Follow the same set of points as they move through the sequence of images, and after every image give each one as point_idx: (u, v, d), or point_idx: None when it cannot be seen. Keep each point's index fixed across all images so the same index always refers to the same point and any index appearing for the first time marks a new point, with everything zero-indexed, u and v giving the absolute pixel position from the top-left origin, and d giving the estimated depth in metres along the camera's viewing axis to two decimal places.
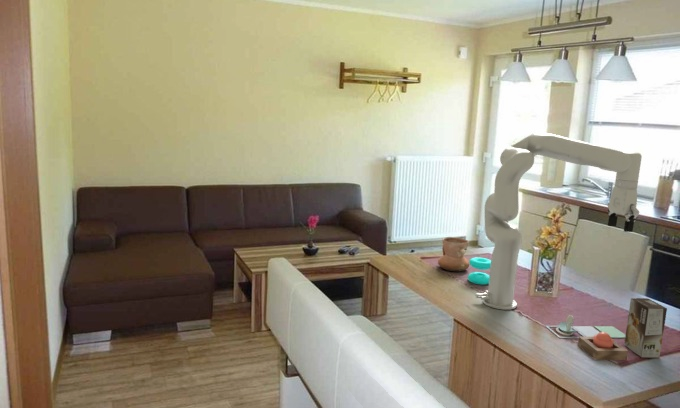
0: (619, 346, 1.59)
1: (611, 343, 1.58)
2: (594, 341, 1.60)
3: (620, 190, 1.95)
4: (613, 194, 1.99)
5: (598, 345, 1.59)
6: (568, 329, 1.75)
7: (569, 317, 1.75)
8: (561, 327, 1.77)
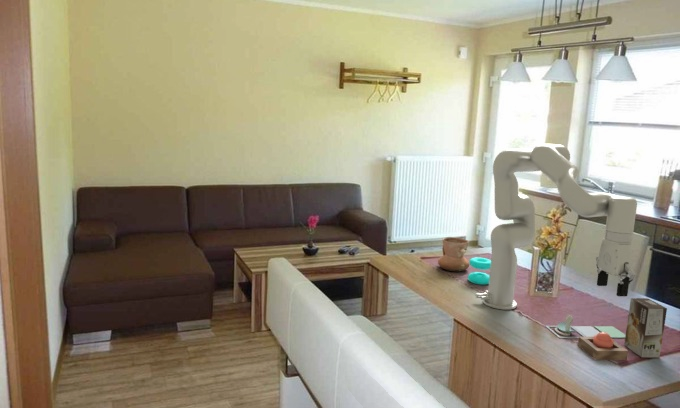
0: (619, 346, 1.59)
1: (611, 343, 1.58)
2: (594, 341, 1.60)
3: (611, 244, 1.56)
4: (603, 248, 1.61)
5: (598, 345, 1.59)
6: (567, 329, 1.75)
7: (568, 317, 1.75)
8: (560, 327, 1.77)
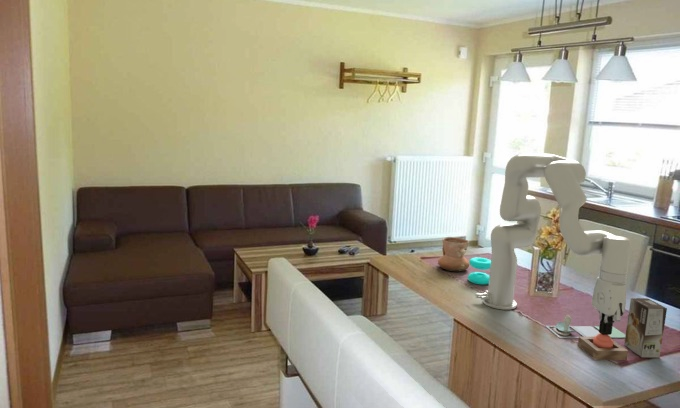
0: (619, 346, 1.59)
1: (611, 344, 1.58)
2: (594, 342, 1.60)
3: (605, 284, 1.56)
4: (597, 287, 1.60)
5: (598, 346, 1.59)
6: (566, 329, 1.75)
7: (567, 317, 1.75)
8: (559, 327, 1.77)
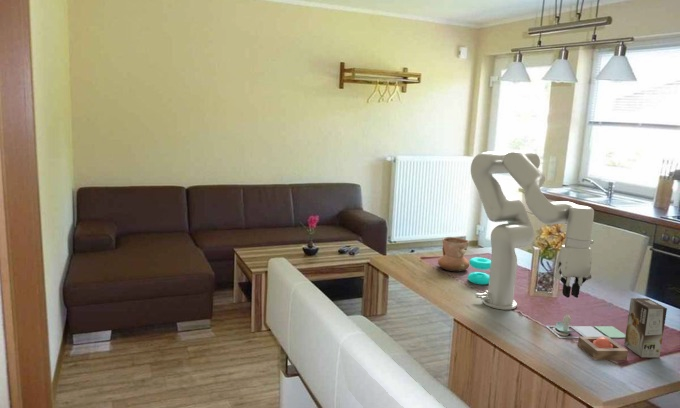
0: (619, 346, 1.59)
1: None
2: None
3: None
4: None
5: None
6: (565, 329, 1.75)
7: (566, 317, 1.75)
8: (558, 327, 1.77)
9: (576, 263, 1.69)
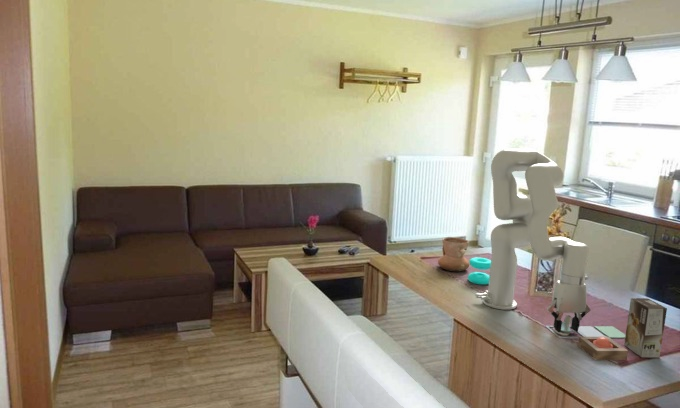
0: (619, 346, 1.59)
1: None
2: None
3: None
4: None
5: None
6: (566, 329, 1.75)
7: (567, 317, 1.75)
8: None
9: (571, 299, 1.71)
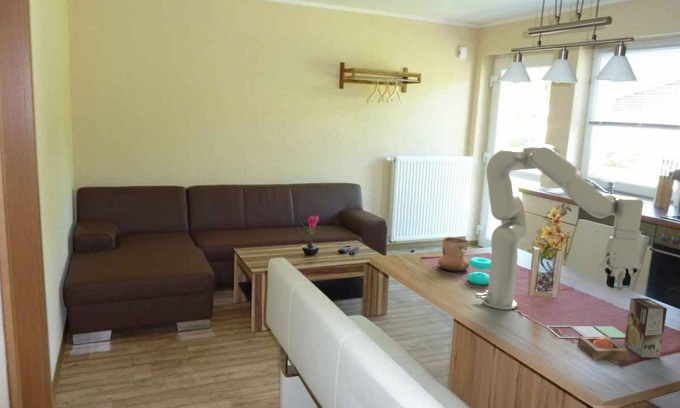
0: (619, 346, 1.59)
1: None
2: None
3: None
4: None
5: None
6: (619, 285, 1.74)
7: (620, 273, 1.74)
8: None
9: (625, 254, 1.70)
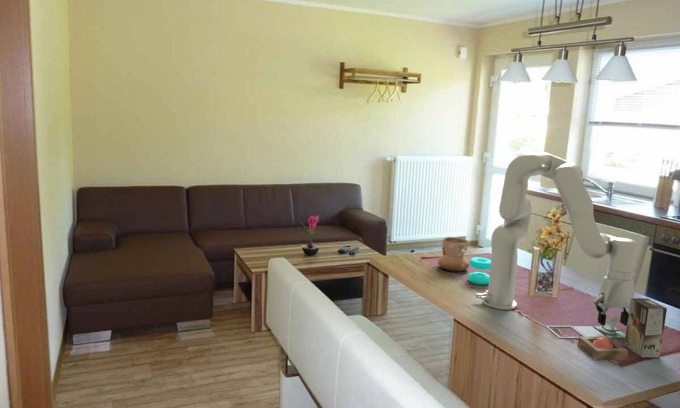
0: (619, 346, 1.59)
1: None
2: None
3: None
4: None
5: None
6: (612, 328, 1.76)
7: (613, 316, 1.76)
8: (605, 326, 1.78)
9: (619, 294, 1.72)
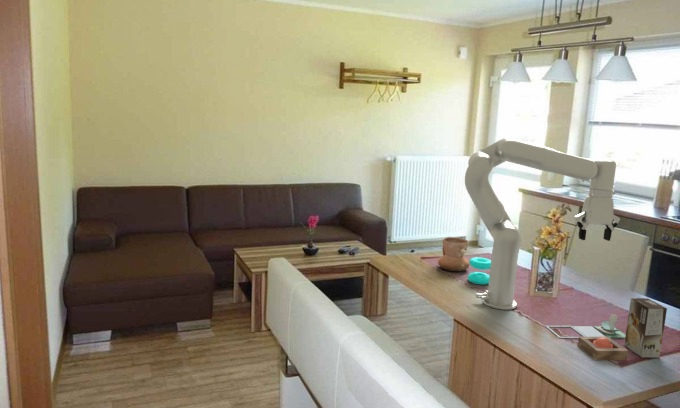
0: (619, 346, 1.59)
1: None
2: None
3: None
4: None
5: None
6: (611, 328, 1.76)
7: (612, 316, 1.76)
8: (604, 326, 1.78)
9: (599, 211, 1.86)
